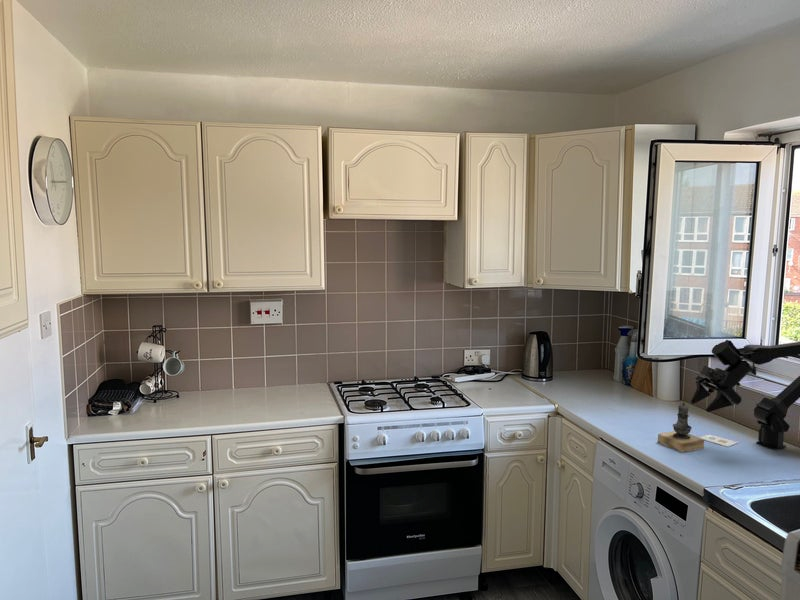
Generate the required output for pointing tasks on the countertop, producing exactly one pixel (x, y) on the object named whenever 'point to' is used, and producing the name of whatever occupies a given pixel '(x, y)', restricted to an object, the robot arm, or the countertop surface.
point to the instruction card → (718, 440)
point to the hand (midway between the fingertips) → (698, 407)
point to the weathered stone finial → (682, 423)
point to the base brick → (681, 442)
